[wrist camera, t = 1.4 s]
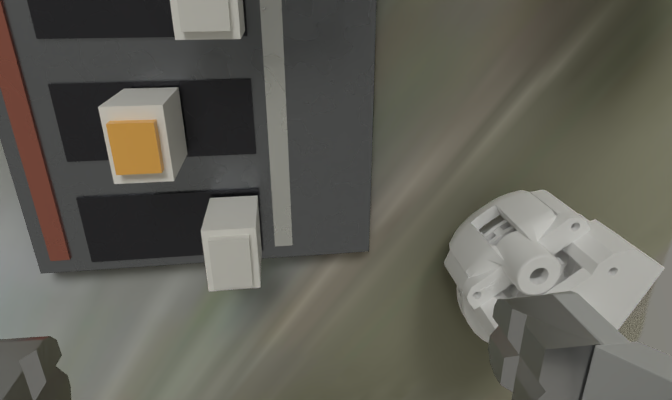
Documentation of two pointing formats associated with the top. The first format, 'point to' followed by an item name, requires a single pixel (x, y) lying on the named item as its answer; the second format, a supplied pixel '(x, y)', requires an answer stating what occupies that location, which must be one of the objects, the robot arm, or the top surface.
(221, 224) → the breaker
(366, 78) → the panel
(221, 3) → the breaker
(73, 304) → the top surface
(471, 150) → the top surface
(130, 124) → the breaker mid
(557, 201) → the mechanical part
